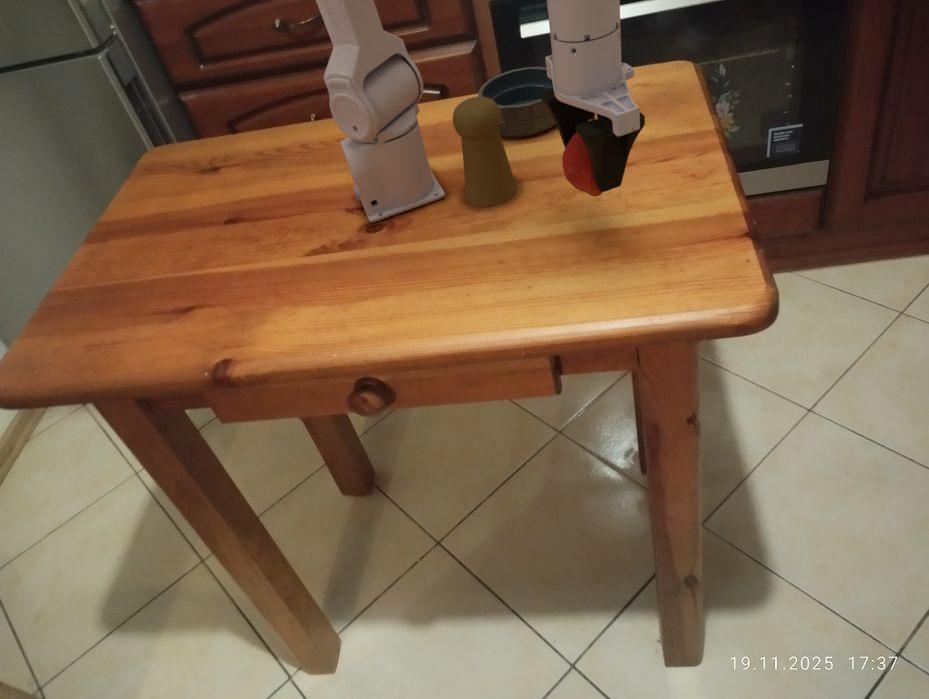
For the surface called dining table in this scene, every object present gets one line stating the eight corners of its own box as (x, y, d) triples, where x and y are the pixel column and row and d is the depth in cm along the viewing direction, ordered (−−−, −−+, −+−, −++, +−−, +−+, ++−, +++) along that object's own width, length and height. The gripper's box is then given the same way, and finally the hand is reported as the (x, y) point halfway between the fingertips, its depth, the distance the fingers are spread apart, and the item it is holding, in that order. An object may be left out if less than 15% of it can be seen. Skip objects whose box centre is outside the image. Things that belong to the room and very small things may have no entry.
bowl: (501, 149, 86) (495, 116, 82) (473, 116, 94) (466, 85, 90) (582, 121, 87) (579, 87, 83) (547, 90, 95) (543, 58, 91)
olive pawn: (457, 190, 81) (437, 103, 73) (502, 171, 82) (486, 83, 74) (479, 213, 76) (459, 122, 69) (526, 192, 77) (511, 101, 70)
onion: (556, 191, 68) (547, 117, 63) (606, 171, 69) (602, 97, 64) (583, 218, 64) (576, 142, 59) (636, 197, 65) (635, 119, 59)
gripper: (675, 39, 51) (672, 193, 60) (590, -9, 61) (598, 129, 71) (589, 68, 50) (599, 220, 60) (518, 15, 60) (536, 151, 70)
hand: (594, 172), depth 65 cm, fingers closed on onion, 6 cm apart
